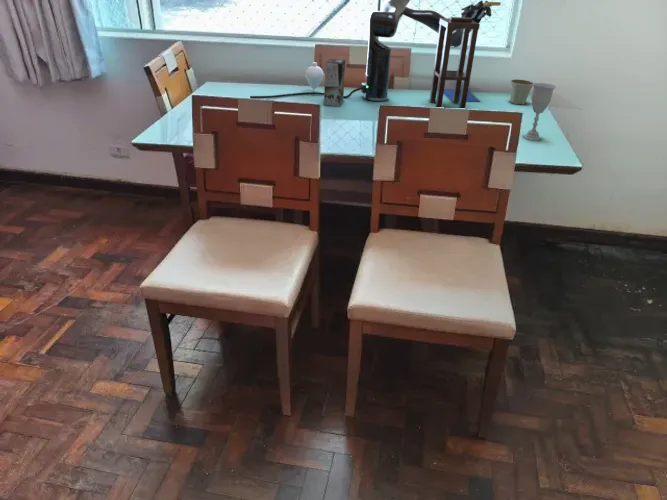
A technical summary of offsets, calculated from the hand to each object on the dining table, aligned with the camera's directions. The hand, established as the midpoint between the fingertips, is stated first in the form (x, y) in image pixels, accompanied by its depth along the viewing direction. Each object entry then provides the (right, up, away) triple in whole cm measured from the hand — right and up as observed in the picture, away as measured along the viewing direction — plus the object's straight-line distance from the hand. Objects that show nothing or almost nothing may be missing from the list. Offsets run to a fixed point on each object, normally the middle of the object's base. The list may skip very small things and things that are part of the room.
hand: (484, 3), depth 221 cm
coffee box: (-60, -40, 0) cm, 72 cm away
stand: (-14, -40, +4) cm, 42 cm away
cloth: (-6, -32, +19) cm, 37 cm away
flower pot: (+18, -36, +13) cm, 43 cm away
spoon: (0, -4, -1) cm, 4 cm away
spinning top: (-68, -32, +13) cm, 76 cm away
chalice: (+9, -59, -28) cm, 66 cm away
